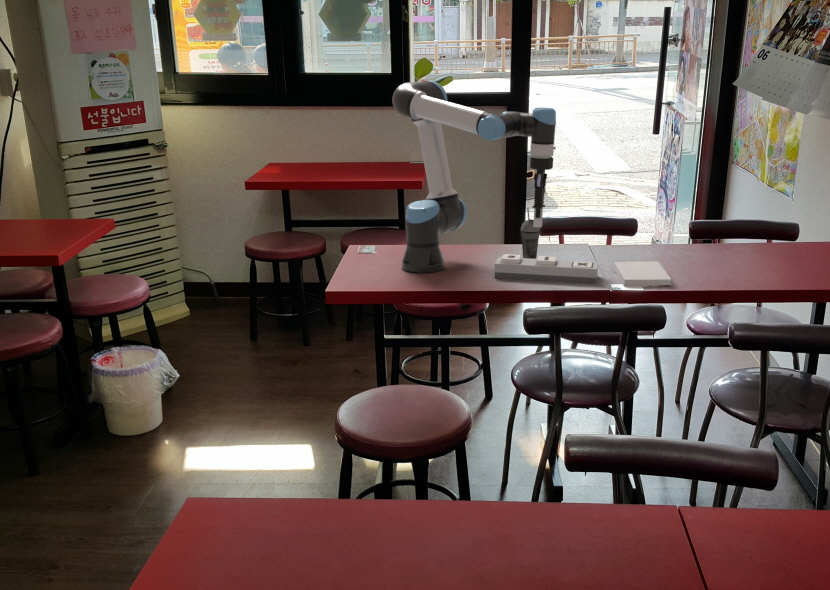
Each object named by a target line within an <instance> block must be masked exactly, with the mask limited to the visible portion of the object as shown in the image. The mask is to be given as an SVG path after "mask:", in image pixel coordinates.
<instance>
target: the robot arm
mask: <svg viewBox="0 0 830 590" xmlns="http://www.w3.org/2000/svg"><path fill="white" fill-rule="evenodd" d="M391 101H392V105H393V108H394V110H395V112H396V113H398V114H399V115H400V116H402V117H405V118H409V119H411V122H412V124H413V125H415V126H416V127H417V132H418V137H419V142H420V149H421V154H422V160H423V165H424V166H423V167H424V170H425V175H426V177H425V178H426V182H427V187H428V195H427V196H426V198H425V199H422V200H416V201H413V202H411V203H408V205H407V206H406V210H405V227H406V228H405V229H406V230H405V231H406V232H405V233H406V248H405V251H404V255H403V258H402V260H401V268H403V269H402V270H404V271H406V270H407V271H406V272H409V271H410V273H415V272H417V274H419V273H420V274H428V272H430V273H435V272H439V271H440V272H441V271H442V270H444V269H445V260H444V259H445V258H444V257H443V253H442V251H441V248H440V235H442V234H445V233H448V232H453V231H455V230H457V229H459V228H461V227H462V226H463V225H464V223H465V222H466V220H467V217H468V216H467V215H468V209H467V206H466V204H465V202H464V201H463V200H462V199H461V198H459V193H458V192H457V191H456V190H455V189H454V188H453V184H452V183H453V182H452V178H451V172H450V167H449V160H448V155H447V150H446V144H445V137H444V132H443V127H442V125H445V126H448V127H451V128H455V129H458V130H462V131H465V132H469V133H473V134H474V135H475V134H476V135H479V136H480V137H481V138H482V139H483V140H486V141H497V140H501V139H505V138H512V137H517V136H518V137H526V138H527V137H529V138H531V139H530V150H529V151H530V152H529V153H530V157H529V168H530V169H532V170H536V172H535V173H534V175H533V180H534V200H533V201H534V204H533V205H532V209H533V220H534V223H533V227H540V228H542V226H543V212H544V208H545V207H546V204H544V203H545V201H544V200H545V199H544V198H545V190H546V189H545V188H546V186H547V178H548V173H546V171H548V170H550V171H551V170H552V169H553V168H554V158H553V156H554V150H557V148H556V146H555V136H556V124H557V111H556V110H555V108H552V107H534V108H533V110H532V112H530V113H529V112H520V111H512V110H511V111H503V112H501V114H495V113H491V112H487V111H485V110H479V109H477V108H473V107H469V106H465V105H462V104H459V103H455V102H451V101H448V96H447V92H446V90H445V88H444V87H443V86H442V85H441V84H440V83H438V81H437V82H436V81H433V80H423V81H422V80H421V81H412V82H411V81H410V82H404V83H401V84H400V85H398V86H397V87H396V89H394V92H393V95H392V99H391Z"/></svg>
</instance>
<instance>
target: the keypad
mask: <svg viewBox="0 0 830 590" xmlns="http://www.w3.org/2000/svg"><path fill="white" fill-rule="evenodd" d="M502 257H503V256H498V258H497V259H496V261H495V263H494V272H493V274H494V277H497V278H496V279H507V278H510V279H509V280H524V279H530V280H529V281H541V280H546V281H545V282H558V281H563V283H575V282H579V283H580V284H592V283H596V282H597V281H598V277H599V275H598V273H599V262H598V261H590V262H591V263H592V268H581V267H573V264H574V262H586V260H585V261H583V260H562V259H556V266H544V265H537V259H538V258H536V259H528V258H523V257H521V263H520V264H507V263H501V258H502ZM494 277H493V278H494ZM498 277H499V278H498ZM564 281H565V282H564ZM596 284H597V283H596Z"/></svg>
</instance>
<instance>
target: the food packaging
mask: <svg viewBox="0 0 830 590" xmlns="http://www.w3.org/2000/svg"><path fill="white" fill-rule="evenodd" d="M613 262H614V263H613V267H614V270H615V274H616V275H617V277H618V279H619V280H620V283H621V284H622V285H623V287H630V288H631V287H634V288H636V287H639V288H640V287H641V288H643V287H644V288H645V287H646V288H647V287H654V288H655V287H656V288H657V287H661V286H662V287H663V286H672V278H671V277H670V276H669V274H668V272H667V271H666V270H665V269H664V267H663V266H662V264H661V263H660V262H659V261H613Z"/></svg>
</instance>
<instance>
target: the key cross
mask: <svg viewBox="0 0 830 590" xmlns="http://www.w3.org/2000/svg"><path fill="white" fill-rule="evenodd" d="M591 262H592V261H585V262H574V264H573V267H581V268H592V263H591Z"/></svg>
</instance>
